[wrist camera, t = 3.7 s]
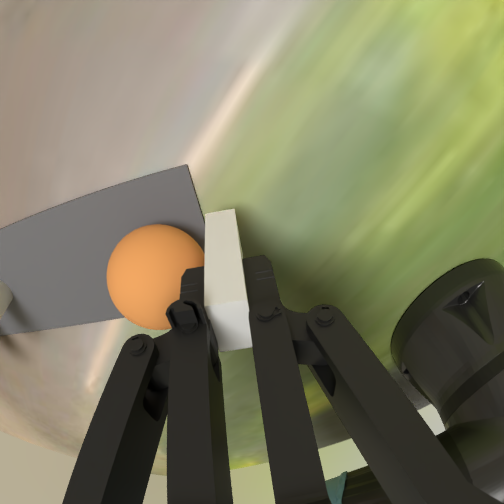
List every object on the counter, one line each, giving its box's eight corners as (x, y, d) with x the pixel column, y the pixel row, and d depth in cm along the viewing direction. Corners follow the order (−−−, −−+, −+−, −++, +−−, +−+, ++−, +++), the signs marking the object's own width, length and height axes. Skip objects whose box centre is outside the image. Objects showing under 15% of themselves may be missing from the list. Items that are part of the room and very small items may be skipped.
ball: (218, 214, 19) (218, 275, 14) (203, 290, 22) (201, 357, 17) (122, 200, 18) (89, 255, 13) (120, 277, 21) (98, 341, 16)
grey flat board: (186, 164, 17) (186, 165, 17) (228, 296, 23) (228, 297, 23) (-65, 260, 18) (-66, 261, 18) (-13, 336, 24) (-14, 337, 24)
